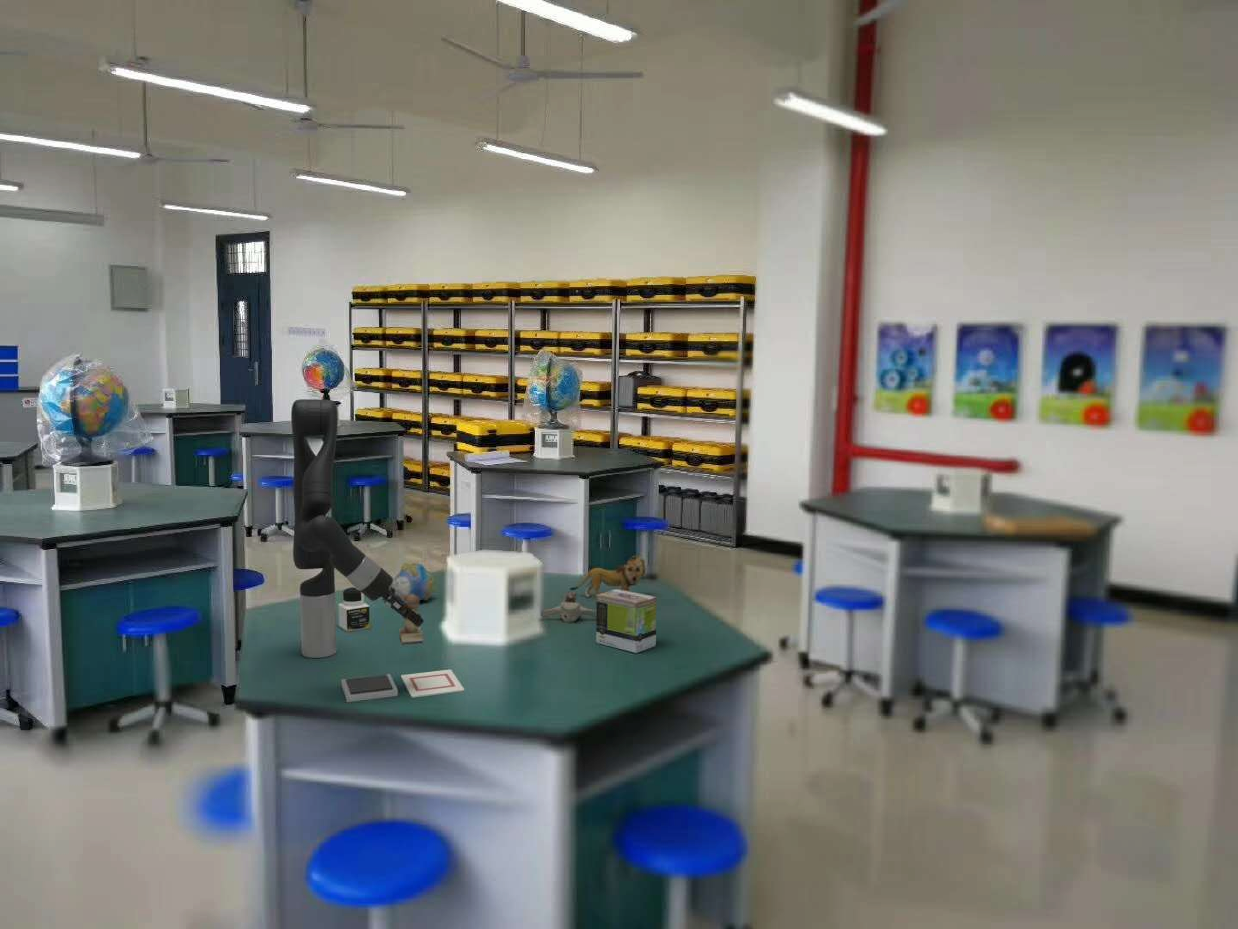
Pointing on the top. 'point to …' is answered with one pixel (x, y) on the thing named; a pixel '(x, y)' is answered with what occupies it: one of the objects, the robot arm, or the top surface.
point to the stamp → (411, 624)
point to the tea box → (626, 620)
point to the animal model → (615, 576)
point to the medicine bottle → (353, 611)
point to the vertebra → (569, 609)
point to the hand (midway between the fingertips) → (419, 621)
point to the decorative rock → (414, 581)
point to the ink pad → (369, 688)
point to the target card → (432, 683)
